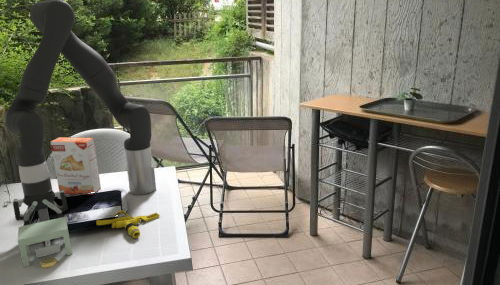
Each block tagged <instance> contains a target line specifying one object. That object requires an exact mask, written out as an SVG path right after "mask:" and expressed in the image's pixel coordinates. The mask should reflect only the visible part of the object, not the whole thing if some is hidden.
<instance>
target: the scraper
mask: <svg viewBox="0 0 500 285" xmlns="http://www.w3.org/2000/svg"><path fill="white" fill-rule="evenodd" d="M37 213H38V218H39V222H44V221H48V220H50V216H49V211H48V208H47V209H41V210H38V211H37ZM44 244H45V246H41V247H39V248H35V249H34V250H35V255H36V258H41V257H45V256H49V255H52V254H53V255H54V254H57V253H60V252H61V246H60V243H59V242H58V243H54V244H51V240H47V241H44Z"/></svg>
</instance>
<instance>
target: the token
mask: <svg viewBox="0 0 500 285" xmlns="http://www.w3.org/2000/svg"><path fill="white" fill-rule="evenodd" d="M57 264H58V259H57V258H56V257H54V256H53V257H47V258H44V259H43V260H41V261H40V263H39V265H40V268H42V269H51V268H53V267H55V266H56V265H57Z"/></svg>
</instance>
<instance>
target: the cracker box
mask: <svg viewBox="0 0 500 285" xmlns="http://www.w3.org/2000/svg"><path fill="white" fill-rule="evenodd" d="M50 147H51V148H50V149H51V154H52V160H53V164H54V170H55V174H56V180H57V182H56V183H57V186H58V192H60V190H64V193H65V194H70V195H79V194H78V193H91V192H96V193H97V192H98V191H100V190H101V179H100V173H99V166H98V160H97V152H96V145H95V139H94V137H64V136H63V137H60V136H59V137H57V138H55V139H53V140H50Z"/></svg>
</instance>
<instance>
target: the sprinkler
mask: <svg viewBox="0 0 500 285" xmlns="http://www.w3.org/2000/svg"><path fill="white" fill-rule="evenodd" d="M116 215H118V218H115V219H114V218H113V219H103V220H102V219H97V220H96V221H95V222H96V226H106V225H110V224H111V228H112V229H114V228H116V229H120V228H121V229H122V228H124V229H125V231H126V232H127V235H129V236H131V237H132V238H133V239H138V238H139V237H140V235H141V232H140V229H139V228H138V226H137V225H138V224H139V223H141V221H145V222H147V223H148V222H151V221H155V220H156V219H158V218H160V216H161V215H160V214H159V213H158V212H154V213H152V214H148V215H138V216H131V215H129V214H128V213H127V212H126V211H125V210H121V209H120V210H118V211H117V212H116V213H115V214H114V216H116ZM120 215H121V216H120Z"/></svg>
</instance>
